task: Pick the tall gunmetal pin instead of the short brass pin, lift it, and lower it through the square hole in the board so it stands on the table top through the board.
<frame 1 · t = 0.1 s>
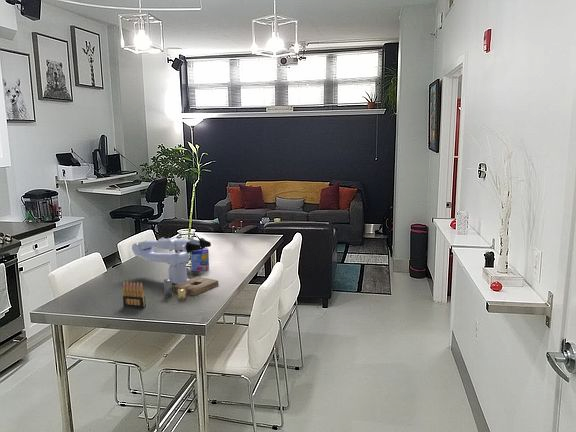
hand: (205, 245, 233), 22 cm above the table, tool horizontal, fingers open, 7 cm apart
tall pin: (168, 295, 226), on the table
short pin: (182, 298, 221), on the table
ink cartridge box: (200, 269, 269), on the table
ammunition clip: (134, 307, 212), on the table
hole board: (196, 288, 236), on the table
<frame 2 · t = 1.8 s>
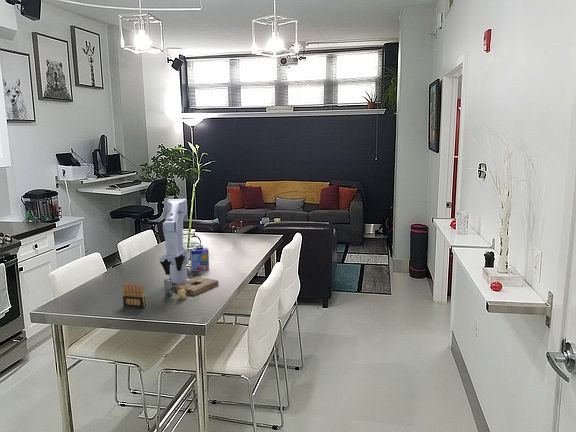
hand: (173, 272, 227), 11 cm above the table, tool pointing down, fingers open, 7 cm apart
nothing on the table moved.
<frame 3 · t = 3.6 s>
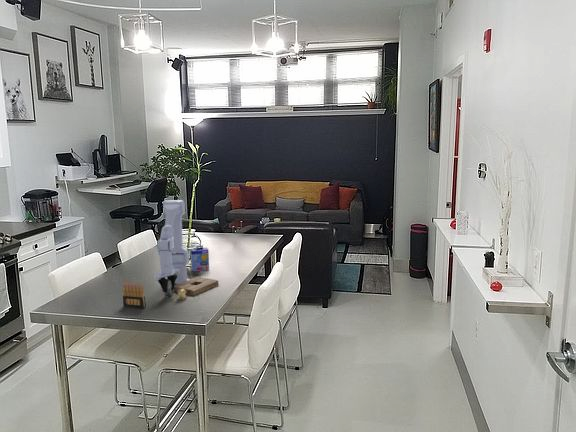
hand: (168, 290, 225), 2 cm above the table, tool pointing down, fingers closed on tall pin, 4 cm apart
tall pin: (168, 295, 226), on the table, touching gripper
everything else where it was.
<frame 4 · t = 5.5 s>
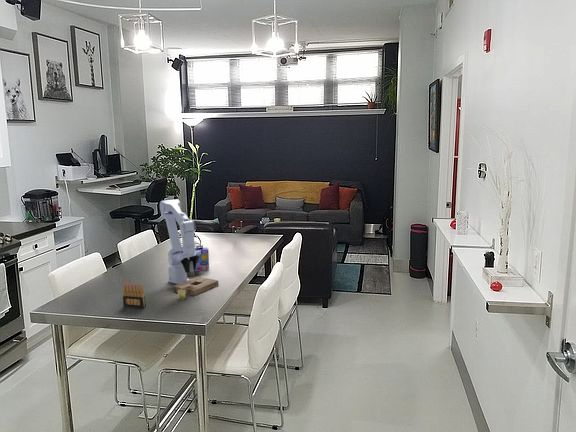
hand: (190, 271, 232), 9 cm above the table, tool pointing down, fingers closed on tall pin, 4 cm apart
tall pin: (190, 276, 233), point 7 cm above the table, touching gripper
everything else where it was.
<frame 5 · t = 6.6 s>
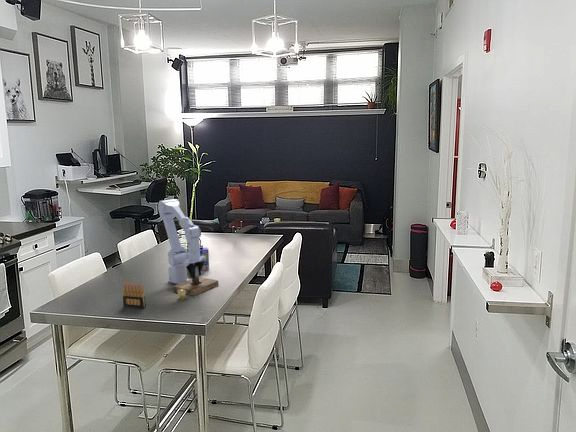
hand: (195, 276, 235), 6 cm above the table, tool pointing down, fingers closed on tall pin, 4 cm apart
tall pin: (195, 281, 235), point 3 cm above the table, touching gripper
everything else where it was.
when the fingers open (3 cm above the table, at t = 7.6 s): tall pin stays where it is, resting in hole board.
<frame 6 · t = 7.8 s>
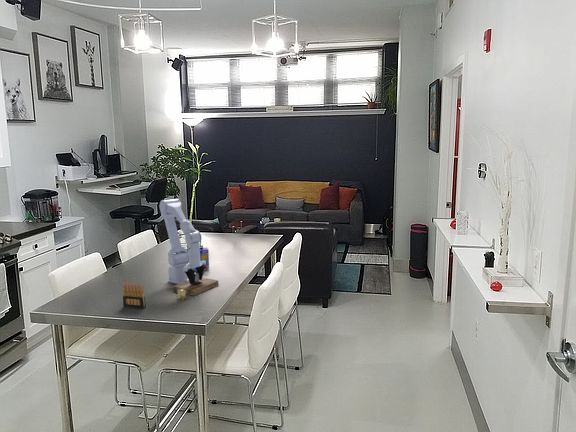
hand: (195, 281, 235), 3 cm above the table, tool pointing down, fingers open, 5 cm apart
tall pin: (196, 288, 236), resting in hole board
everything else where it was.
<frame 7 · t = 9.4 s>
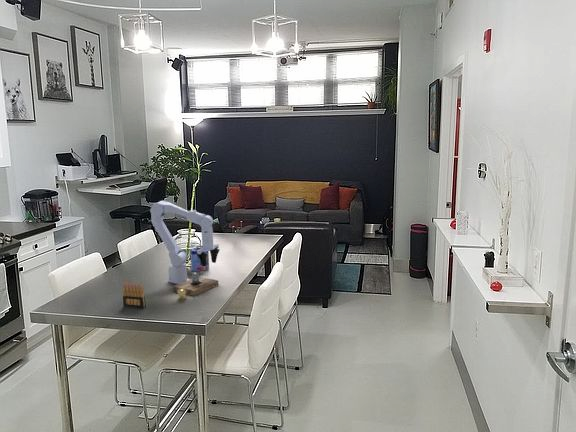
hand: (209, 264, 244), 9 cm above the table, tool pointing down, fingers open, 7 cm apart
nothing on the table moved.
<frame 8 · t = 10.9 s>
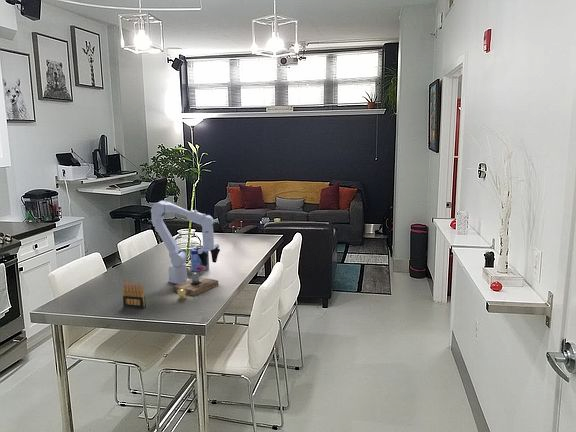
hand: (209, 264, 245), 9 cm above the table, tool pointing down, fingers open, 7 cm apart
nothing on the table moved.
at the end: tall pin 0.1 cm off-centre on the hole board, point 0.0 cm above the hole board's base; tall pin tilted 0°; the gripper is holding nothing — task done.
